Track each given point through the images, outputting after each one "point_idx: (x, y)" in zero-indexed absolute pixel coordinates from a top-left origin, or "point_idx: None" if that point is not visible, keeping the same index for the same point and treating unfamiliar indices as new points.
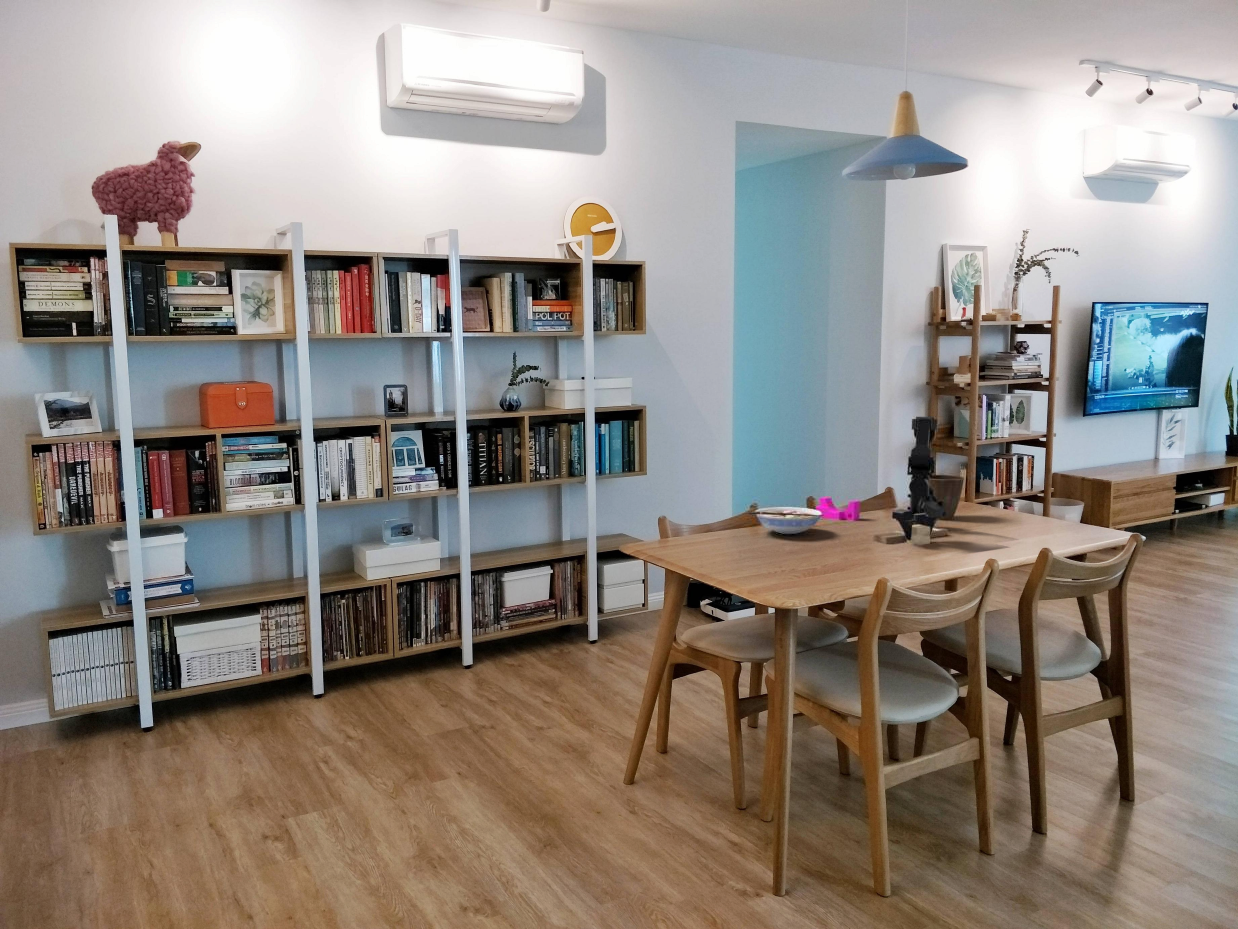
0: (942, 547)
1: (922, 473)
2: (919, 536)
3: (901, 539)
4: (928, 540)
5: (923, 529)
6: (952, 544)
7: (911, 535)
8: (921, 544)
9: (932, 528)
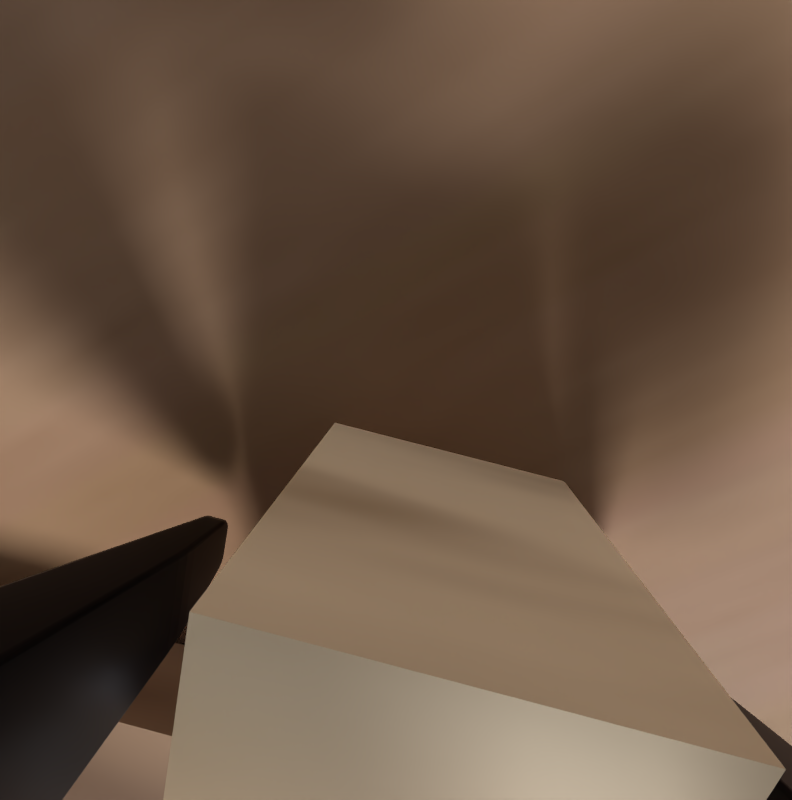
0: (485, 87)
1: None
2: (606, 556)
3: None
4: (352, 446)
5: (524, 647)
6: (122, 112)
7: None
8: (504, 466)
9: (11, 590)
